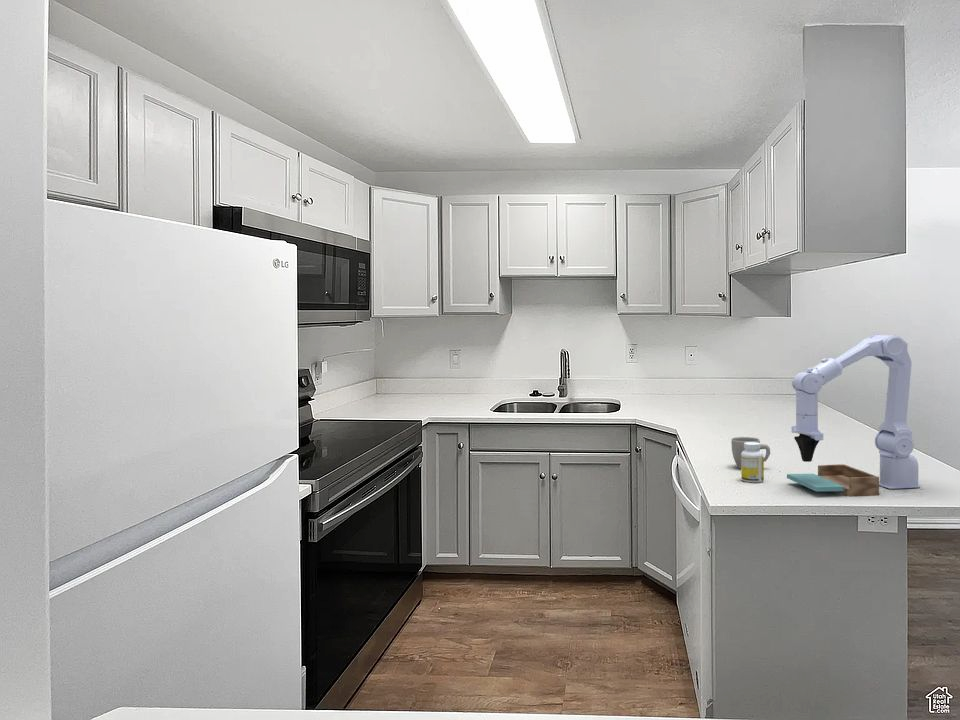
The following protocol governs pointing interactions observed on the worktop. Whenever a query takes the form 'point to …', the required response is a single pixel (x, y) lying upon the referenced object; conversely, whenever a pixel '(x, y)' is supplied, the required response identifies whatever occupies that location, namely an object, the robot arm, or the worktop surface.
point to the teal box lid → (815, 482)
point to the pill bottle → (752, 463)
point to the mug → (739, 448)
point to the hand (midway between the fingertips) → (807, 461)
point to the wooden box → (850, 479)
